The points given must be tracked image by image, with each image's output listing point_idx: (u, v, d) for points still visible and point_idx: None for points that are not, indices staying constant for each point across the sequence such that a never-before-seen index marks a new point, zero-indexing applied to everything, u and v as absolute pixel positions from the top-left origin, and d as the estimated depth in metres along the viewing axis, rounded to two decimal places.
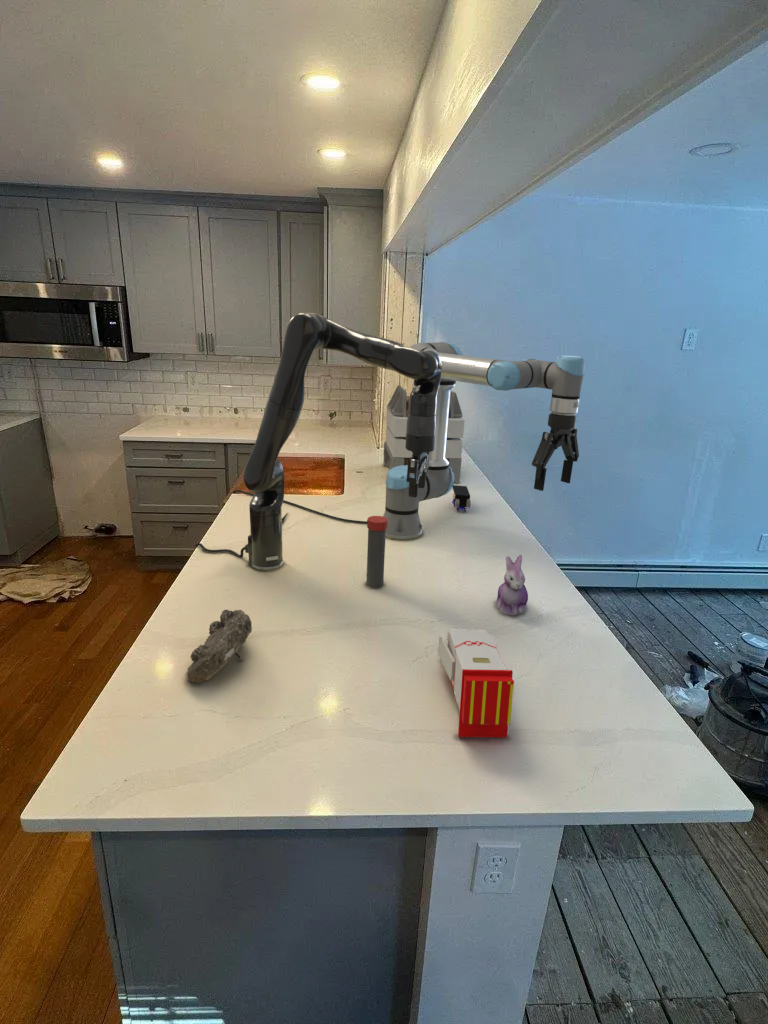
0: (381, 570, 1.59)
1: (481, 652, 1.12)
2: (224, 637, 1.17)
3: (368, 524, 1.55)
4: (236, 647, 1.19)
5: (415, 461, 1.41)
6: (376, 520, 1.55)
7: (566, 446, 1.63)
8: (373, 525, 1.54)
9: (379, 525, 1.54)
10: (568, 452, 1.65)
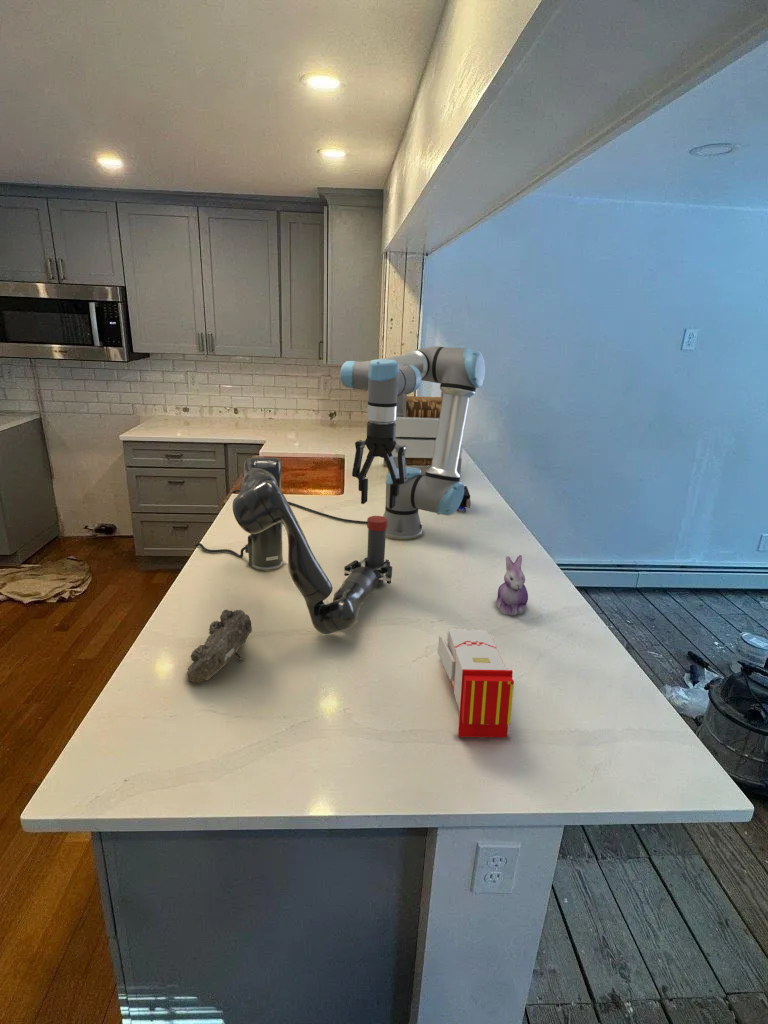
0: None
1: (481, 652, 1.12)
2: (224, 637, 1.17)
3: (368, 524, 1.55)
4: (236, 647, 1.19)
5: None
6: (376, 520, 1.55)
7: (373, 458, 1.52)
8: (373, 525, 1.54)
9: (379, 525, 1.54)
10: (369, 466, 1.53)
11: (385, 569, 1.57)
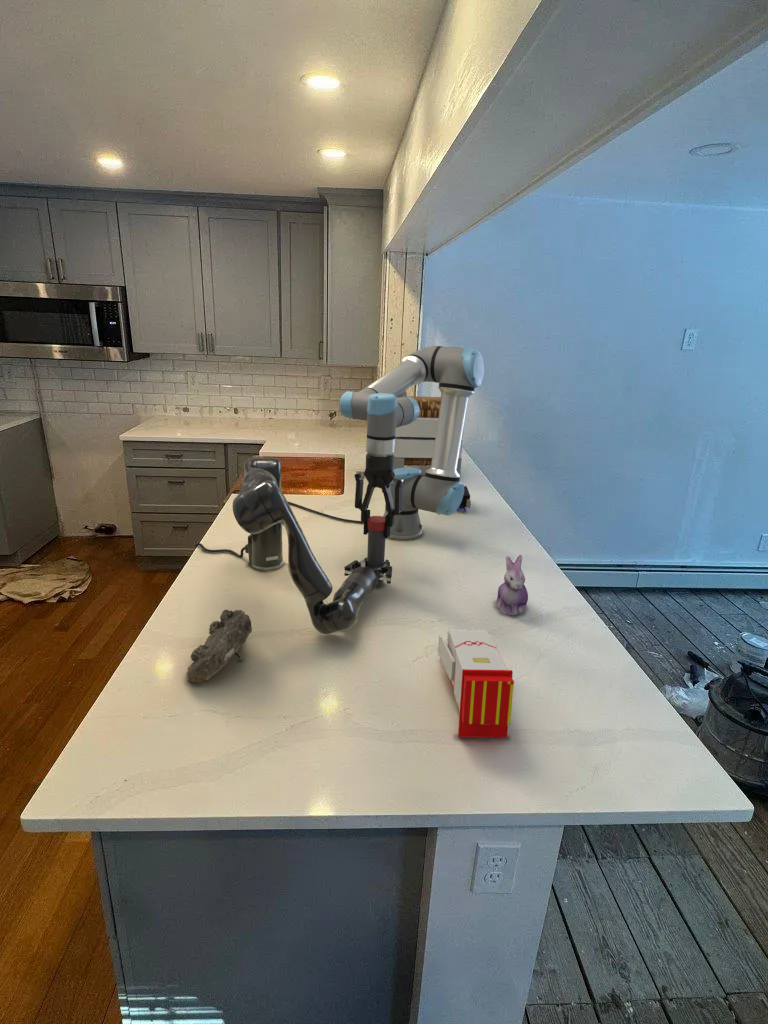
0: None
1: (481, 652, 1.12)
2: (224, 637, 1.17)
3: (368, 524, 1.55)
4: (236, 647, 1.19)
5: None
6: (376, 520, 1.55)
7: (373, 489, 1.54)
8: (373, 525, 1.54)
9: (379, 525, 1.54)
10: (370, 497, 1.55)
11: (385, 569, 1.57)
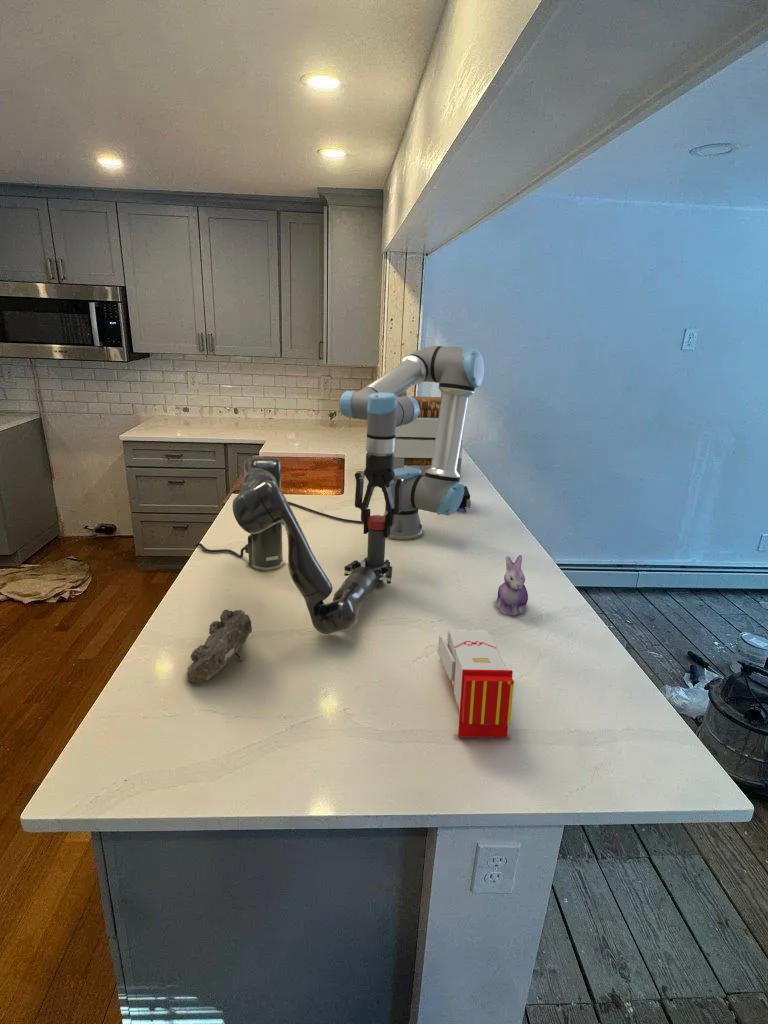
0: None
1: (481, 652, 1.12)
2: (224, 637, 1.17)
3: None
4: (236, 647, 1.19)
5: None
6: (380, 517, 1.56)
7: (373, 488, 1.54)
8: None
9: None
10: (370, 496, 1.55)
11: (385, 569, 1.57)
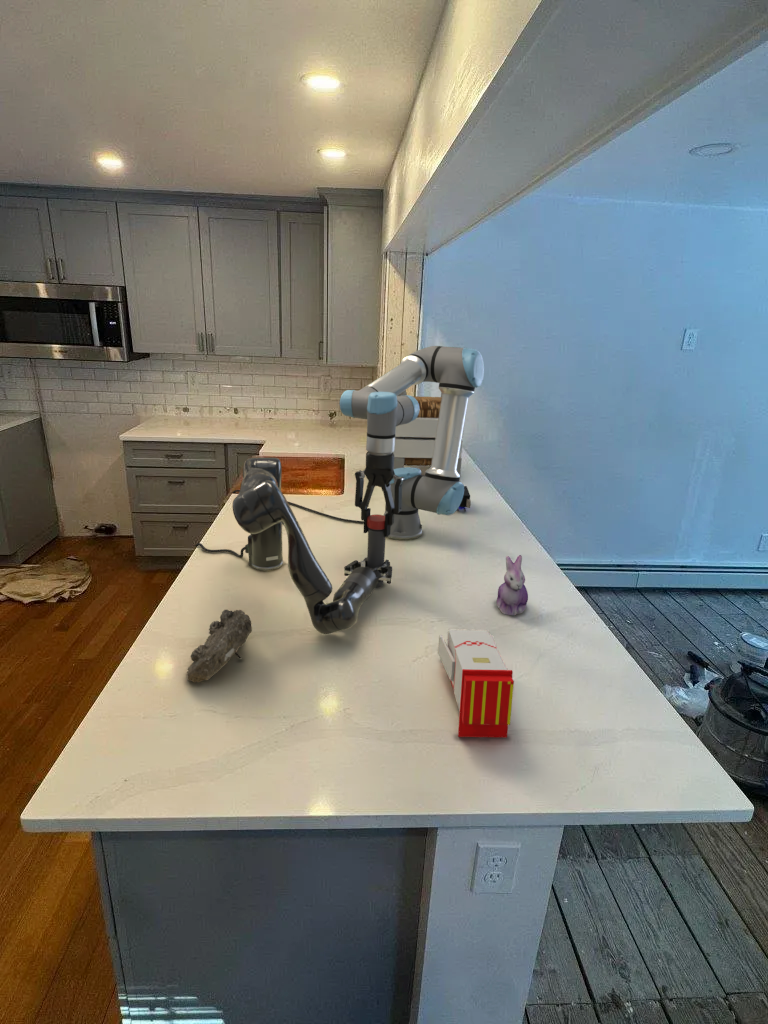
0: None
1: (481, 652, 1.12)
2: (224, 637, 1.17)
3: None
4: (236, 647, 1.19)
5: None
6: (373, 517, 1.56)
7: (373, 487, 1.54)
8: None
9: (368, 521, 1.55)
10: (370, 496, 1.55)
11: (385, 569, 1.57)
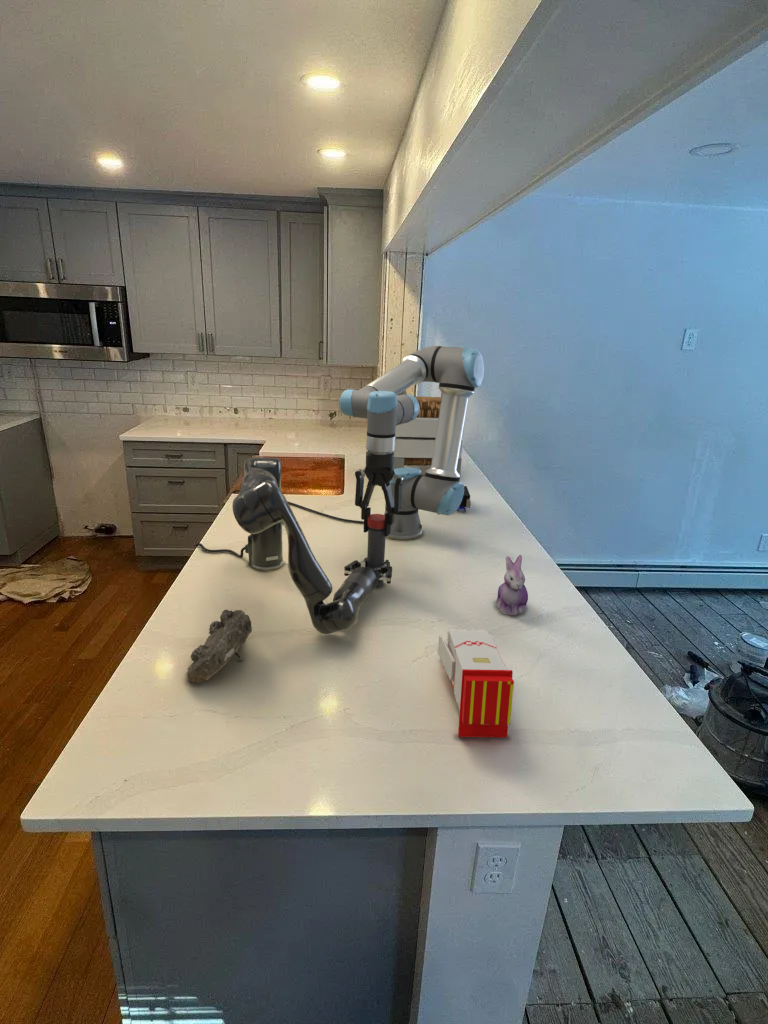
0: None
1: (481, 652, 1.12)
2: (224, 637, 1.17)
3: (377, 524, 1.54)
4: (236, 647, 1.19)
5: None
6: (380, 518, 1.55)
7: (373, 487, 1.54)
8: (383, 523, 1.54)
9: None
10: (370, 495, 1.55)
11: (385, 569, 1.57)
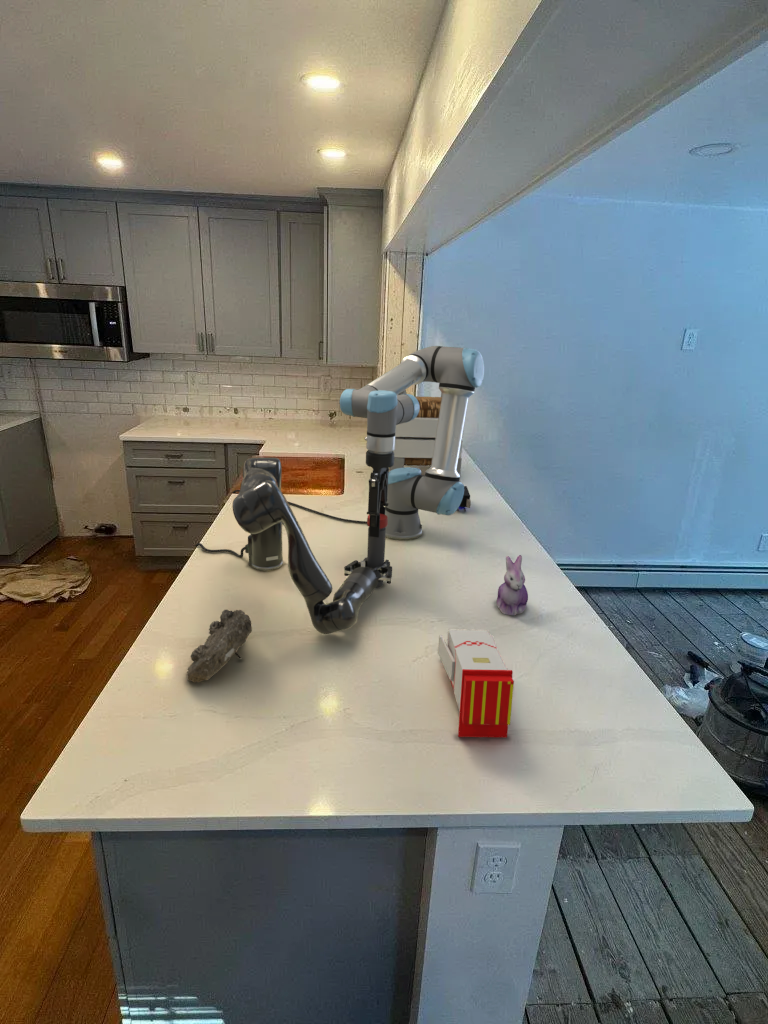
0: None
1: (481, 652, 1.12)
2: (224, 637, 1.17)
3: None
4: (236, 647, 1.19)
5: None
6: None
7: None
8: None
9: None
10: None
11: (385, 569, 1.57)
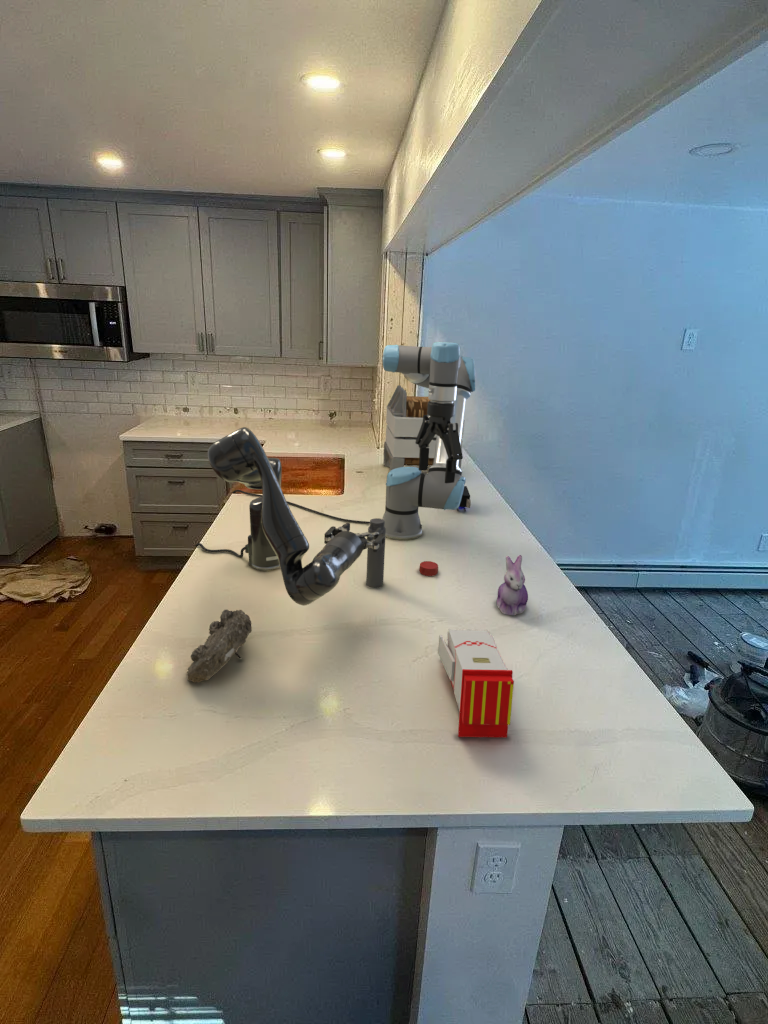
0: (381, 570, 1.59)
1: (481, 652, 1.12)
2: (224, 637, 1.17)
3: None
4: (236, 647, 1.19)
5: (324, 541, 1.39)
6: (428, 563, 1.72)
7: None
8: None
9: None
10: None
11: (377, 537, 1.39)
